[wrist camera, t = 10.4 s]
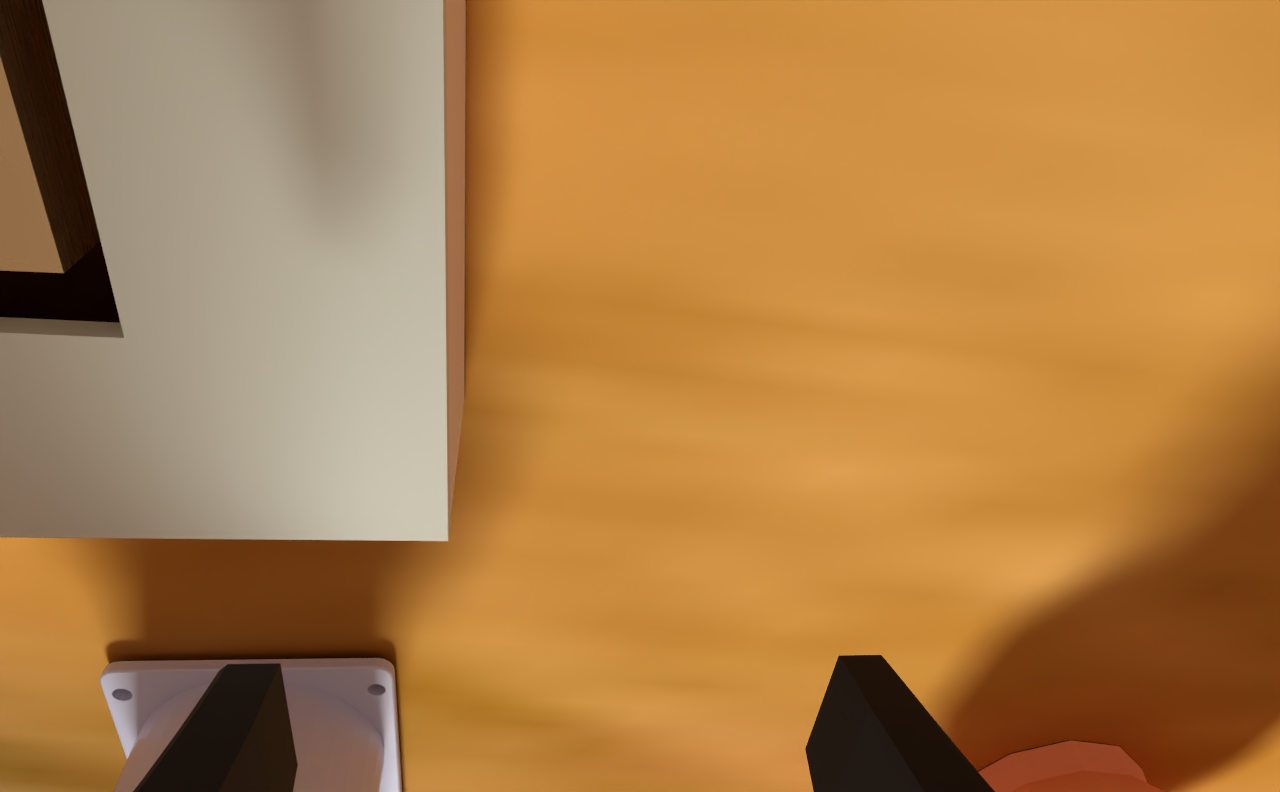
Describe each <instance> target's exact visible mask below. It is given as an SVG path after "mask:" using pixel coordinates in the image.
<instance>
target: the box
mask: <svg viewBox="0 0 1280 792" xmlns="http://www.w3.org/2000/svg"><path fill="white" fill-rule="evenodd" d="M42 2H43V6H44V10H45V14H46V18H47V22H48V26H49V30H50V35H51V39H52V43H53V47H54V51H55V55H56V59H57V63H58V67H59V72H60V76H61V80H62V84H63V88H64V92H65V96H66V100H67V105H68V109H69V113H70V117H71V121H72V125H73V129H74V133H75V137H76V142H77V146H78V150H79V154H80V158H81V162H82V166H83V170H84V175H85V179H86V183H87V187H88V191H89V195H90V199H91V203H92V207H93V212H94V216H95V220H96V224H97V228H98V232H99V236H100V240H101V245H102V249H103V253H104V257H105V261H106V265H107V269H108V273H109V277H110V282H111V286H112V290H113V294H114V298H115V302H116V306H117V310H118V315H119V319H120V323H116V322H95V321H73V320H52V319H30V318H9V317H0V537H30V538H146V539H262V540H377V541H448V537H449V528H450V520H451V511H452V502H453V494H454V485H455V477H456V468H457V460H458V451H459V443H460V434H461V425H462V417H463V408H464V343H465V103H466V0H42Z"/></svg>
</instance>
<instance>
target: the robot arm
mask: <svg viewBox="0 0 1280 792" xmlns="http://www.w3.org/2000/svg"><path fill="white" fill-rule="evenodd" d="M100 684H101V687H102V689H103V692H104V695H105V698H106V701H107V704H108V707H109V710H110V712H111V715H112V718H113V721H114V724H115V727H116V730H117V733H118V736H119V738H120V741H121V744H122V747H123V750H124V753H125V756H126V759H127V761H126V764H125V766H124V768H123V770H122V773H121V775H120V777H119V779H118V782H117V784H116V786H115V788H114V791H113V792H402V781H401V764H400V748H399V732H398V716H397V699H396V683H395V669H394V666H393V664H392V663H391V662H389V661H388V660H385V659H383V658H324V659H246V660H169V661H118V662H112V663H110V664H108V665H107V666H106V667H105V669H104V671H103V673H102V674H101V676H100ZM377 684H379V685H377ZM806 754H807V759H808V764H809V769H810V775H811V780H812V785H813V790H814V792H995V791H994V790H993V789H992V787H991V786H990V785H989V784H988V783H987V782H986V781H985V779H984V778H983V777H982V776H981V775H980V774H979V773H978V771H977V770H976V769H975V768H974V767H973V766H972V764H971V763H970V762H969V761H968V760H967V758H966V757H965V756H964V755H963V754H962V753H961V751H960V750H959V749H958V748H957V747H956V745H955V744H954V743H953V742H952V741H951V739H950V738H949V737H948V736H947V734H946V733H945V732H944V731H943V730H942V728H941V727H940V726H939V725H938V724H937V722H936V721H935V720H934V719H933V718H932V716H931V715H930V714H929V713H928V711H927V710H926V709H925V708H924V707H923V705H922V704H921V703H920V702H919V700H918V699H917V698H916V697H915V695H914V694H913V693H912V692H911V691H910V689H909V688H908V687H907V686H906V684H905V683H904V682H903V681H902V680H901V678H900V677H899V676H898V675H897V673H896V672H895V671H894V670H893V669H892V667H891V666H890V665H889V664H888V663H887V661H886V660H885V659H884V658H883V657H882V656H881V655H854V656H839V657H838V660H837V662H836V665H835V668H834V671H833V674H832V676H831V679H830V682H829V685H828V687H827V690H826V693H825V696H824V699H823V701H822V704H821V707H820V710H819V713H818V715H817V718H816V721H815V724H814V727H813V729H812V732H811V735H810V738H809V740H808V743H807V746H806Z"/></svg>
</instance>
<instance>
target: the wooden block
mask: <svg viewBox="0 0 1280 792" xmlns="http://www.w3.org/2000/svg"><path fill="white" fill-rule="evenodd" d="M99 241H101V240H100V236H99V232H98V228H97V224H96V220H95V216H94V212H93V207H92V203H91V199H90V195H89V191H88V187H87V183H86V179H85V175H84V170H83V166H82V162H81V158H80V154H79V150H78V146H77V142H76V137H75V133H74V129H73V125H72V121H71V117H70V113H69V109H68V105H67V100H66V96H65V92H64V88H63V84H62V80H61V76H60V72H59V67H58V63H57V59H56V55H55V51H54V47H53V43H52V39H51V35H50V30H49V26H48V22H47V18H46V14H45V10H44V6H43V2H42V0H0V270H1V271H25V272H49V273H65V272H66V271H67V270H68V269H69V268H70V267H71V266H72V265H74V264H75V263H76V262H77V261H78V260H79V259H80V258H81V257H83V256H84V255H85V254H86V253H87V252H88V251H89V250H90V249H92V248H93V247H94V246H95V245H96V244H97V243H98V242H99Z"/></svg>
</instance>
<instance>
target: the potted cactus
mask: <svg viewBox="0 0 1280 792" xmlns="http://www.w3.org/2000/svg"><path fill="white" fill-rule="evenodd" d="M978 773H979V774H980V775H981V776H982V777H983V778H984V779H985V781H986V782H987V783H988V784H989V785H990V786H991V787H992V789H993V790H994V791H995V792H1165V791H1163V790H1161V789H1159V788H1156V787H1154V786H1152V785H1150V784H1148V783H1147V781H1146V778H1145V776H1144V773H1143V770H1142V768H1141V767H1140V766H1139V765H1138V764H1137V763H1136V762H1135V761H1134V760H1133V759H1132V758H1131V757H1130V756H1128V755H1127V754H1126V753H1125V752H1124V751H1123V750H1122V749H1121V748H1120V747H1119V746H1113V745H1105V744H1096V743H1088V742H1079V741H1071V740H1070V741H1066V742H1062V743H1057V744H1053V745H1048V746H1044V747H1040V748H1035V749H1031V750H1026V751H1022V752H1018V753H1013V754H1010V755H1008V756H1006V757H1004V758H1002V759H1001V760H999V761H997V762H995V763H993V764H992V765H990V766H988V767H986V768H984V769H982V770H981V771H979V772H978Z"/></svg>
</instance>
